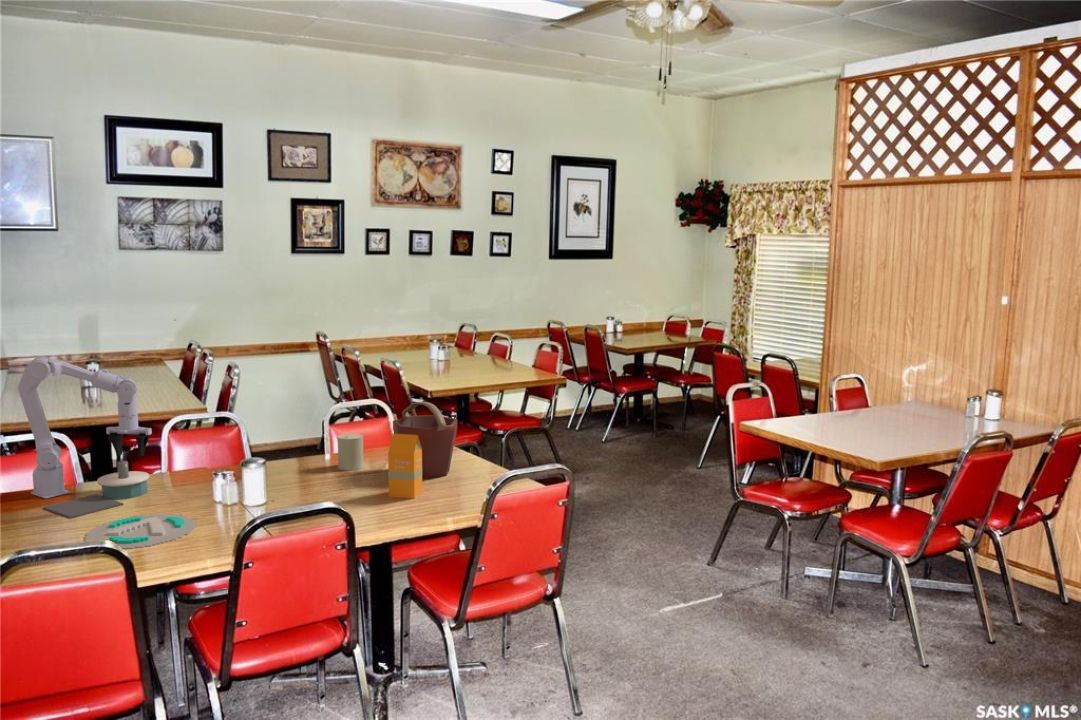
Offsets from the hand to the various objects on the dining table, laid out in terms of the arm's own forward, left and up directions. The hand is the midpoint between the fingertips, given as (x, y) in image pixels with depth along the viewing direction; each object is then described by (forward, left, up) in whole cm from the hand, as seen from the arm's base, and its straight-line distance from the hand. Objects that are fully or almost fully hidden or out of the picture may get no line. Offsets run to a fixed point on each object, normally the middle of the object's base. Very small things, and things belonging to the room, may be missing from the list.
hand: (130, 455), depth 283 cm
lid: (+6, -6, -6) cm, 10 cm away
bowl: (+6, -6, -10) cm, 13 cm away
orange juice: (+80, +46, -11) cm, 93 cm away
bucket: (+68, +70, -11) cm, 98 cm away
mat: (+9, -21, -10) cm, 25 cm away
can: (+41, +59, -11) cm, 73 cm away
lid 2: (+44, -23, -11) cm, 51 cm away
